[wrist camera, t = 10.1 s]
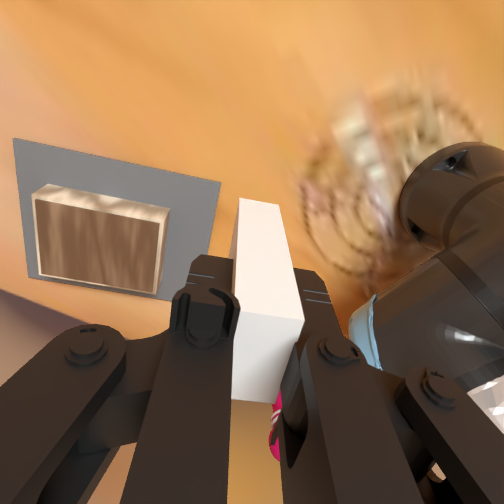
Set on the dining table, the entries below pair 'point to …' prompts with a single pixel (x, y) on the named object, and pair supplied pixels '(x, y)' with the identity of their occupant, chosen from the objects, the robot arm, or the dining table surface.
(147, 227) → the brown wooden block
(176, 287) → the mat
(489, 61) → the dining table surface
